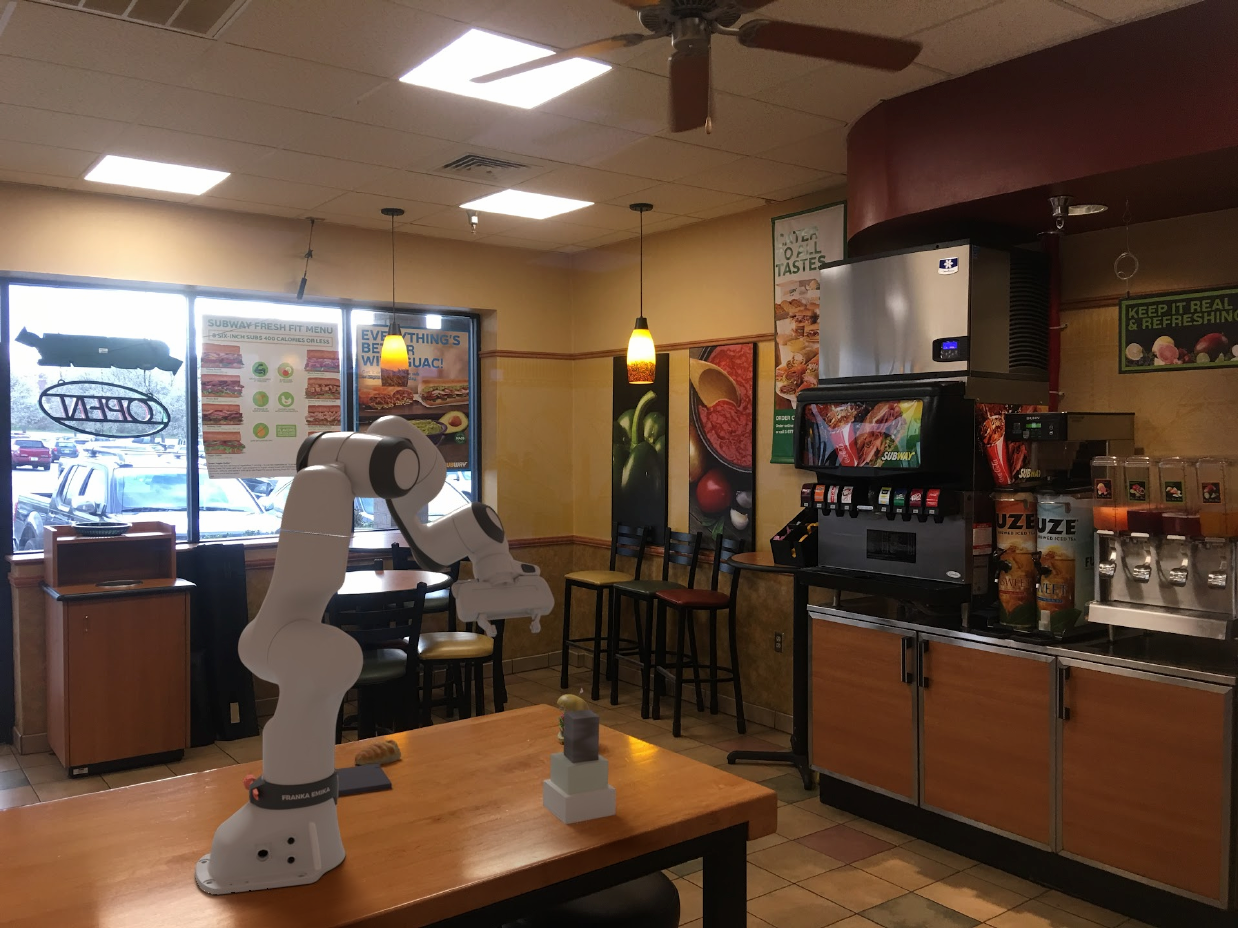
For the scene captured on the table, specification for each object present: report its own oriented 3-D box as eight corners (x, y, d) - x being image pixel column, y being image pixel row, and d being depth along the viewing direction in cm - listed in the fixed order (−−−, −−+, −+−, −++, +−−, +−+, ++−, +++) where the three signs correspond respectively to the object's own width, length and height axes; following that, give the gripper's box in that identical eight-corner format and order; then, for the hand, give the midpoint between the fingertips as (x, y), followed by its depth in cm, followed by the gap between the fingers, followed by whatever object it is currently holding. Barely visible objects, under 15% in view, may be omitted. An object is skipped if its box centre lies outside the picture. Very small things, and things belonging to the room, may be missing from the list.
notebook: (276, 807, 181) (391, 790, 190) (276, 799, 181) (391, 782, 190) (269, 785, 192) (378, 770, 201) (269, 777, 192) (378, 763, 201)
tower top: (568, 794, 175) (568, 766, 174) (550, 780, 182) (550, 753, 182) (608, 787, 178) (608, 760, 178) (589, 774, 185) (589, 747, 185)
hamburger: (551, 737, 222) (552, 685, 222) (581, 734, 225) (581, 682, 225) (563, 747, 215) (563, 693, 215) (593, 744, 218) (594, 690, 218)
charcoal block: (572, 762, 176) (573, 718, 176) (563, 754, 181) (564, 711, 181) (598, 759, 178) (599, 716, 178) (588, 751, 183) (589, 709, 183)
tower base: (565, 825, 173) (565, 797, 173) (542, 806, 182) (543, 780, 182) (615, 815, 178) (615, 788, 178) (591, 797, 187) (591, 771, 187)
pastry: (365, 770, 200) (365, 752, 200) (347, 763, 205) (347, 745, 205) (404, 759, 207) (403, 741, 207) (385, 753, 212) (385, 735, 212)
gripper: (452, 571, 196) (469, 628, 188) (545, 565, 206) (565, 619, 198) (445, 590, 200) (461, 647, 192) (537, 583, 210) (556, 637, 202)
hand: (514, 633), depth 195 cm, fingers open, 8 cm apart
